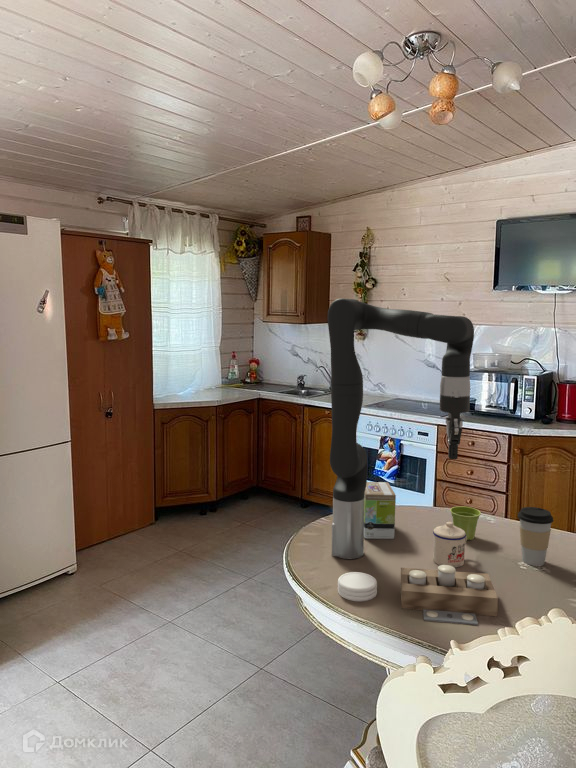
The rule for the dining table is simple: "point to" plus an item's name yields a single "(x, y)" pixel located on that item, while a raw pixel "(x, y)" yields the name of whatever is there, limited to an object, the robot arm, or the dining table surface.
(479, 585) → the right button
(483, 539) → the dining table surface
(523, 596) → the dining table surface
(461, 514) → the plant pot
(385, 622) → the dining table surface
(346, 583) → the coaster
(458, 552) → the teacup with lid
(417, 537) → the dining table surface
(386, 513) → the tea box
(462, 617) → the card
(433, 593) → the button board
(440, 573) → the middle button
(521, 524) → the coffee cup
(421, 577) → the left button
